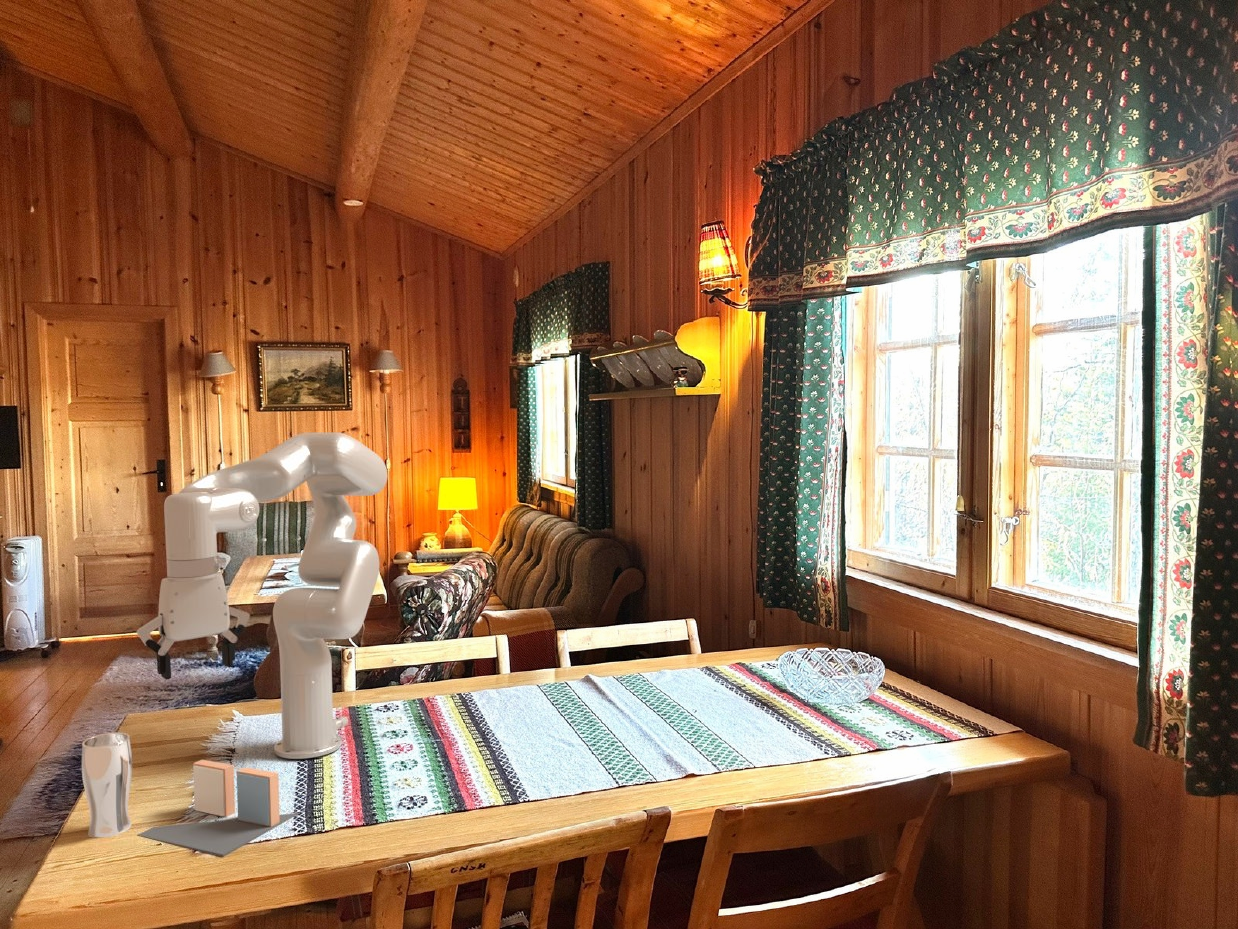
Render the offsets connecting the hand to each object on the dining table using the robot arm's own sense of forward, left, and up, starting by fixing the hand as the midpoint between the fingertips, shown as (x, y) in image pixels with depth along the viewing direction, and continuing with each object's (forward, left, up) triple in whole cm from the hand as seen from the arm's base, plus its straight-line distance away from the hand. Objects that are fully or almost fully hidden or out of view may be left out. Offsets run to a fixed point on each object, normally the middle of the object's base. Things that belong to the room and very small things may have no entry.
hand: (197, 671), depth 152 cm
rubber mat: (+2, +7, -24) cm, 25 cm away
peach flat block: (0, +12, -23) cm, 26 cm away
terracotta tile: (0, +2, -23) cm, 23 cm away
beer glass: (+11, -8, -24) cm, 27 cm away
